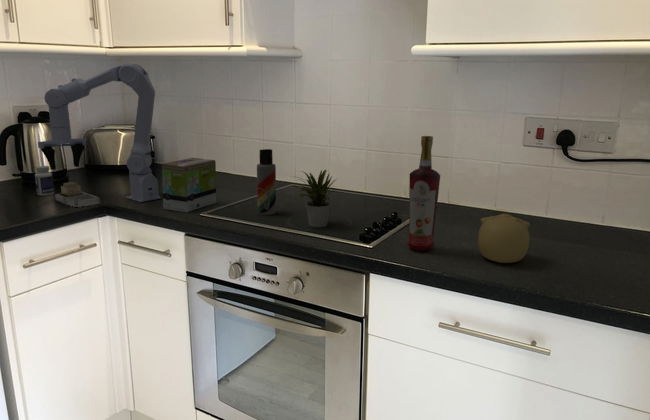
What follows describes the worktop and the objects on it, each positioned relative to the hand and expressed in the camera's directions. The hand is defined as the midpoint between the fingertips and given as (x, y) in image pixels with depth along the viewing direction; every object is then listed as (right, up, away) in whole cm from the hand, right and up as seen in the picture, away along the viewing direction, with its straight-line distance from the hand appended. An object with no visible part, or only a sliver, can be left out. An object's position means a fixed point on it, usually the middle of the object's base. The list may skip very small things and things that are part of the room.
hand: (65, 167), depth 175 cm
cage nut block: (+2, -10, +1) cm, 11 cm away
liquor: (+110, -24, -43) cm, 121 cm away
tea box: (+43, -13, -5) cm, 45 cm away
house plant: (+84, -18, -22) cm, 89 cm away
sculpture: (+128, -26, -50) cm, 140 cm away
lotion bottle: (+68, -15, -12) cm, 71 cm away
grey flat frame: (+5, -11, -1) cm, 12 cm away
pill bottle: (-11, -9, +9) cm, 17 cm away
